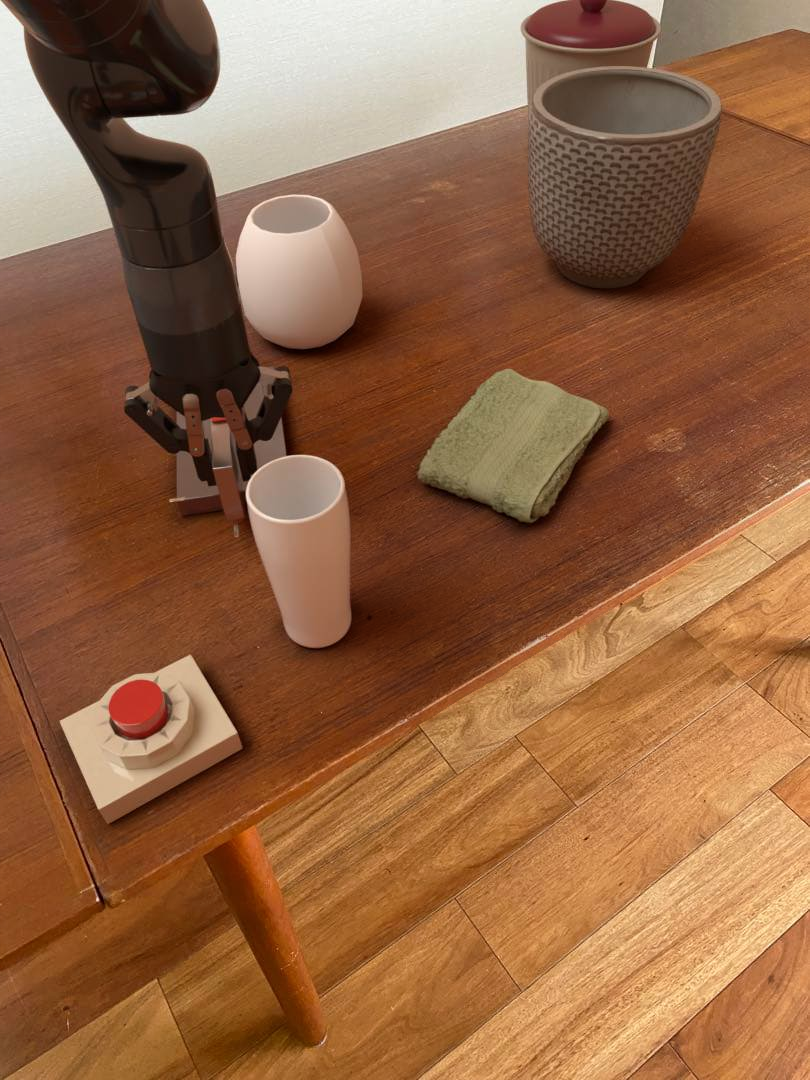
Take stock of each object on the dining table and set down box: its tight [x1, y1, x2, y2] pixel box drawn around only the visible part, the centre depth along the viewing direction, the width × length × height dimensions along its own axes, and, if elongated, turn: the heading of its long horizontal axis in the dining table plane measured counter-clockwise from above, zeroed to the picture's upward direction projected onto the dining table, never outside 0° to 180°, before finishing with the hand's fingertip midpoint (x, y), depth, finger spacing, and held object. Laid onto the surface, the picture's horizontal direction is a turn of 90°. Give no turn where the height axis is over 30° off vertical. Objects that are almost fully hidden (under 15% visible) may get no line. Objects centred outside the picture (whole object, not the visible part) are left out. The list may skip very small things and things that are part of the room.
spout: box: [210, 417, 246, 522], centre depth 74 cm, size 7×2×6 cm, turn 10°
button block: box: [59, 654, 243, 825], centre depth 60 cm, size 10×8×4 cm
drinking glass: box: [246, 454, 353, 649], centre depth 63 cm, size 7×7×15 cm
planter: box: [527, 66, 723, 290], centre depth 97 cm, size 20×20×19 cm
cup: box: [235, 194, 364, 350], centre depth 92 cm, size 13×13×14 cm
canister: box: [520, 0, 662, 120], centre depth 117 cm, size 18×18×21 cm
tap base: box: [168, 365, 288, 539], centre depth 81 cm, size 24×11×2 cm, turn 10°
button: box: [109, 680, 169, 739], centre depth 58 cm, size 4×4×2 cm
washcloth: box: [416, 368, 611, 524], centre depth 80 cm, size 13×18×3 cm
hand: (230, 476), depth 75 cm, fingers closed
